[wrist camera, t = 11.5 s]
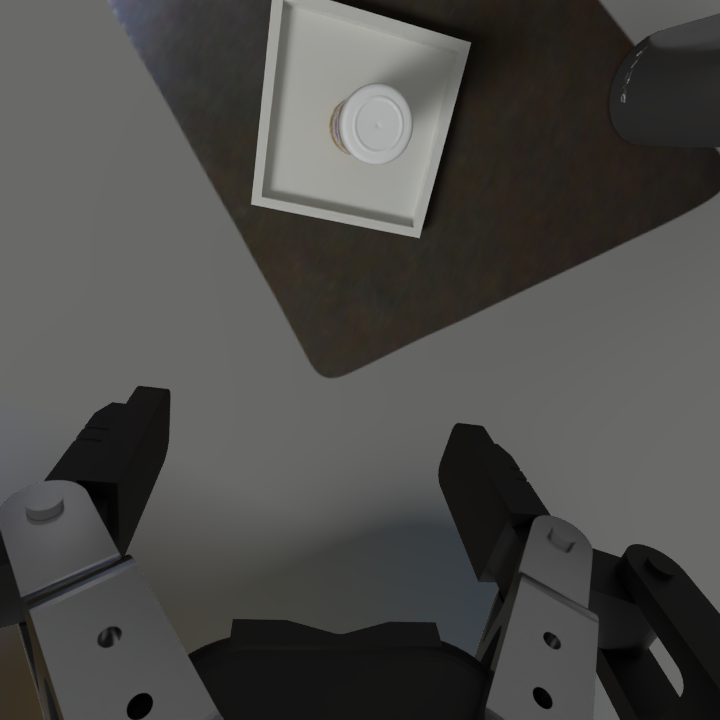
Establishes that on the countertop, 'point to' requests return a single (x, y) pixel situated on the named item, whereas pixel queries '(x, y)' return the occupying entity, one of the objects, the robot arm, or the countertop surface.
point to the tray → (332, 86)
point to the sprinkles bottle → (373, 124)
